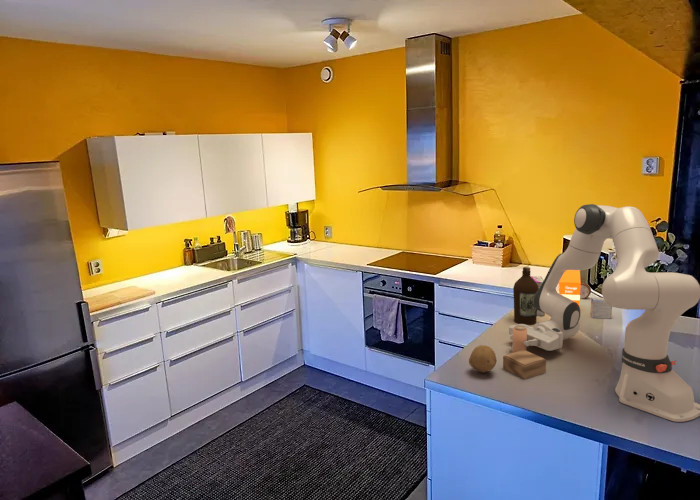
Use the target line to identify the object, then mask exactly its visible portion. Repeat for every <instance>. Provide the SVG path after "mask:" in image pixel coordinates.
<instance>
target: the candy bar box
mask: <svg viewBox="0 0 700 500" xmlns="http://www.w3.org/2000/svg"><path fill="white" fill-rule="evenodd" d="M530 276H531V278H532V279H533V280H534V281H535V282H536V283H537V285H538V288H540V287H541V285H542V283H543V281H544V279H543V277H542V276H540V275H539V276H538V275H536V276H533V275H530ZM545 314H546V313H543V312H541V311H539V310H537V317H545Z"/></svg>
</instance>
